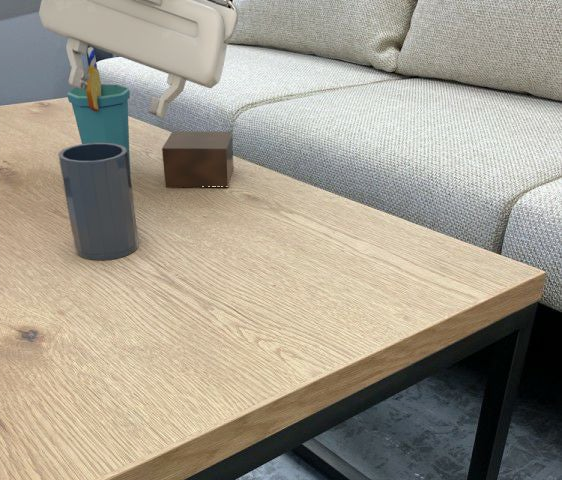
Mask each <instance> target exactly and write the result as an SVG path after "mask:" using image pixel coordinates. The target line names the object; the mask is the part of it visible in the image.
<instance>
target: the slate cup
mask: <svg viewBox="0 0 562 480" xmlns="http://www.w3.org/2000/svg"><path fill="white" fill-rule="evenodd" d="M57 157H58V162H59V163H58V164H59V168H60V175H61V178H62V180H61V181H62V185H63V190H64V196H65V202H66V206H67V213H68V218H69V224H70V228H71V235H72V240H73V245H74V251H75V253H76V255H78V256H79V257H81V258H83V259H87V260H93V261H109V260H117V259H120V258H124V257H126V256H129V255H131V254H132V253H134V252H135V251H136V250H137V249H138V248H139V235H138V234H139V233H138V227H137V219H136V210H135V209H136V208H135V202H134V193H133V186H132V178H131V168H130V169H129V161H128V153H127V150H126V148H125V147H123V146H121V145H118V144H112V143H88V144H82V143H80V144H76V145H71V146H68V147H66V148H63V149H61V150H60V151H59V152H58V153H57Z"/></svg>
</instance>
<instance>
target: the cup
mask: <svg viewBox="0 0 562 480" xmlns="http://www.w3.org/2000/svg"><path fill="white" fill-rule="evenodd" d="M86 54H87V55H88V60H89V66H88V70H87V72H86V73H88V74H90V78H89V81H88V82H87V84H88V86H87V89H86V90H83V89H80V88H77V87H75V88H73V89H71V90H69V91H68V92H67V94H66V96H67V99H68V102H69V103H70V104H71V107H72V111H73V114H74V115H73V116H74V118H75V123H76V126H77V130H78V131H77V132H78V134H79V138H80V142H81V144H88V143H112V144H118V145H121V146H123V147H125V148H126V150H127V153H128V161H129V169H130V170H131V159H130V158H131V157H130V156H131V155H130V131H129V130H130V129H129V128H130V127H129V125H130V124H129V101H128V100H129V99H130V97H131V96H130V91H131V90H130V89H129V88H128V87H126V86H122V85H119V84H102V81H101V77H100V72H99V71H100V70H99V69H98V65H97V64H98V63H97V59H96V52H95V49H94V47H92V46H89V47H87V51H86Z"/></svg>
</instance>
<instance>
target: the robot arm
mask: <svg viewBox="0 0 562 480" xmlns="http://www.w3.org/2000/svg"><path fill="white" fill-rule="evenodd" d="M229 7H230V8H229ZM38 11H39V12H38V15H39V19H40V22H41V24H42V26H43V28H45V29H46V30H48V31H50V32H51V33H53V34H55V35H58V36H61V37H63V38H67V41H66V46H65V50H66V54H67V57H68V63H69V65H70V67H71V69H70V74H69V76H68V77H69V78H68V85H70V86H72V87H75V88H76V87H77V88H80V89H83V90H86V89H87V86H88V84H87V82H88V81H89V78H90V74H88V73H87V72H85V69H84V66H83V61H82V56H81V55H83V56H85V55H87V49H88V48H89V47H92V48H93V49H94V48H95V49H98V50H101V51H103V52H106V53H109V54H112V55H115V56H117V57H121V58H122V59H125V60H129V61H132V62H134V63H137V64H139V65H142V66H145V67H148V68H150V69H153V70H156V71H159V72H162V73H165V74H167V80H166V84H168V85H169V87H168V88H167V89H166V90H165V91H164V92H163V93H162V94H161V96H159V97H157V96H151V99H150V105H149V106H148V113H149V114H151V115H154V116H156V117H159V118H162V119H165V117H166V115H167V111H168V108H169V105H170V104H171V103H172V102H173V101H174V100H175V99H176V98H178V96H179V95H180V94H182V92H183V91H184V89H185V86H186V82H190V83H193V84H196V85H199V86H201V87H204V88H207V89H212V88H214V87H215V86H216V85H217V84H219V83H220V81H221V78H222V74H223V70H224V65H225V60H226V54H227V47H228V42H229V41H230V40H231V39H232V38H233V36H234V35H235V31H236V29H237V26H238V21H239V11H238V9H237V6H236V5H235V3H234V2H233V1H231V0H41V1H40V4H39V10H38ZM88 46H89V47H88Z"/></svg>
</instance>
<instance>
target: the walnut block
mask: <svg viewBox="0 0 562 480" xmlns="http://www.w3.org/2000/svg"><path fill="white" fill-rule="evenodd" d="M233 150H234V149H233V132H232V131H208V130H207V131H202V130H201V131H197V130H196V131H193V130H191V131H189V130H188V131H186V130H184V131H183V130H182V131H181V130H179V131H178V130H174V131H171V132H170V134H169V136H168V138H167V139H166V141H165V143H164V144H163V146H162V148H161V153H162V163H163V173H164V183H165V188H167V187H202V186H204V187H208V186H210V187H212V186H216V187H217V186H220V187H221V186H223V187H226V186H228V187H229V185H230V182H229V181H231V178H230V177H232V175H231V174H233V171H234V152H233ZM228 184H229V185H228Z"/></svg>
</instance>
